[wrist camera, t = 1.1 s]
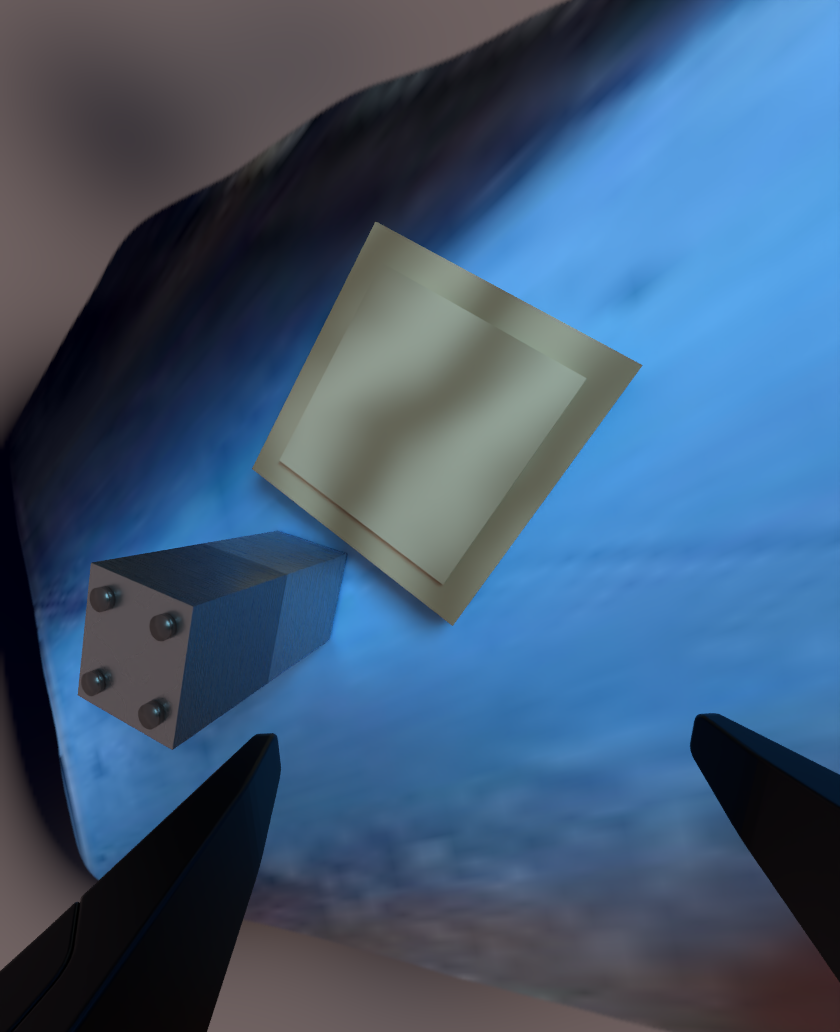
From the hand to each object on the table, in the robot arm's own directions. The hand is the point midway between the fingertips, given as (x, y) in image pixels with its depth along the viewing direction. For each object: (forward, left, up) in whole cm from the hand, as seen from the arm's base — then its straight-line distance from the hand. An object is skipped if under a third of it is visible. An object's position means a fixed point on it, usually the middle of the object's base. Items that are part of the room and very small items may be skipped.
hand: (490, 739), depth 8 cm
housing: (+9, +9, -12) cm, 18 cm away
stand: (+9, -3, -12) cm, 16 cm away
